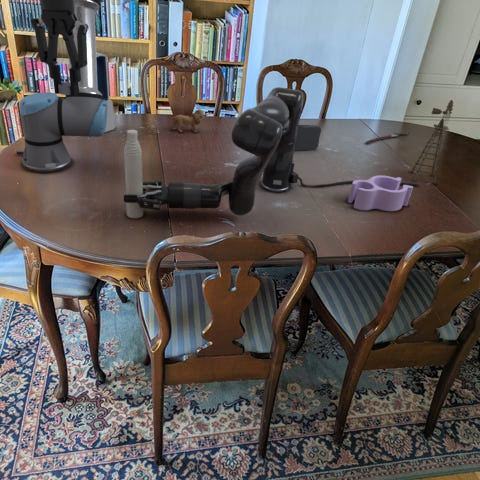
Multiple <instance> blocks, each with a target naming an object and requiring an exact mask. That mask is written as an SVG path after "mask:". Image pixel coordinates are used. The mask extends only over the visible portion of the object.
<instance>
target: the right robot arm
mask: <svg viewBox="0 0 480 480" xmlns="http://www.w3.org/2000/svg"><path fill="white" fill-rule="evenodd" d="M303 104H304V93H303V92H302V90H299V89H292V88H286V87H280V86H279V87H278V86H277V87H274V88H272V89H271V90H270V92H269V93H268V95H267V97H266V98H265V99H263V100H262V101H260V102H259V103H258V104H257V105H256V106H254V107H250V108H247V109H245V110H244V111H243V112H242V113H241V114H240V115H239V116H238V117H237V119H236V120H235V121H234V124H233V126H232V130H231V141H232V143H233V144H234V145H235V146H236V147H237V148H239V149H241V150H242V151H245V152H247V153H249V154H251V155H253V156H251V157H248V158H246V159H244V160H242V161H240V163H239V164H238V165H237V166H236V168H235V170H234V173H233V176H232V180H230V181H225V182H220V183H215V184H208V183H207V184H205V183H194V182H176V181H175V182H172V181H170V182H168V184H167V186H164V185H163V181H161V180H155V181H143V195H138V196H137V195H126V194H124V195H123V203H125V204H126V203H138V204H139V207H140V208H143V209H148V210H155V211H160V210H161V207H162V206H163V205H167V207H168V209H177V210H178V209H179V210H180V209H181V210H183V209H184V210H193V209H218V208H220V206H221V202H222V198H223V197H225V196H228V207H229V208H228V209H229V210H230V211H231V213H232V214H234V215H236V216H241V217H243V216H246V215H248V214H249V213H251V212H252V211H253V209H254V206H255V198H256V197H255V196H256V189H257V188H258V185H259V182H260V179H261V183H260V184H261V187H262V188H263V189H264V190H267V191H269V192H273V193H283V192H286V191H288V189H290V188H291V187H292V185H294V184H298V180H299V182H300V185H301V186H302V187H304V188H320V187H329V186H336V185H344V184H352V183H353V181H354V180H346V181H337V182H333V183H327V184H325V183H324V184H323V183H322V184H315V185H307V184H304V182H303V179H302V178H301V177H299V174H298V173H297V172H296V171H294V170H295V169H294V168H295V161H294V154H295V150H294V149H295V143H296V136H297V130H298V125H300V124H299V123H300V118H301V114H302V110H303ZM261 177H262V178H261ZM400 185H402V186H403V185H409V186H413V187H414V186H415V187H417V186H418V185H419V183H414V182H413V183H412V182H411V183H410V182H402V181H401V182H400Z"/></svg>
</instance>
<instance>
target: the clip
mask: <svg viewBox="0 0 480 480" xmlns="http://www.w3.org/2000/svg"><path fill="white" fill-rule="evenodd" d="M402 179H403V178H402V177H399V176H398V177H393V176H389V175H374V176H371V177H370V178H369V179H355V180H352V181H353V183H351V187H350V191H349V195H348V199H347V203H348V204H349V203H350V204H352V203H353V202H354V204H353V208H354V209H356V210H360V211H370V210H373V209H374V210H375V209H376V210H380V211H383V212H396V211H399V210H401V209H402V207H403V206H404V207H408V204H409V202H410V198H411V195H412V192H413V189H414V185H403V184H402V188H401V189H399V188H400V185H401V184H400V182H402Z"/></svg>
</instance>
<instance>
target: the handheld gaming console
mask: <svg viewBox="0 0 480 480" xmlns="http://www.w3.org/2000/svg"><path fill="white" fill-rule="evenodd" d="M321 133H322V127H321V126H319V125H318V124H298V130H297V136H296V143H295V149H294V151H312V150H317V148H318V147H319V144H320V137H321Z"/></svg>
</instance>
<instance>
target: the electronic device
mask: <svg viewBox="0 0 480 480" xmlns="http://www.w3.org/2000/svg"><path fill="white" fill-rule="evenodd" d="M96 59H97V85H98V91H99V92H100V93H101V94H102V95H103V100H105V101H107V104H108V107H107V122H106V129H105V132H104V133H106V132H111V131H113V130H114V129H115V127H116V116H115V110H114V102H113V100H112V99H110V88H109V87H110V86H109V71H108V70H109V69H108V55H107V54H105V53H100V52H97V51H96Z"/></svg>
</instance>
